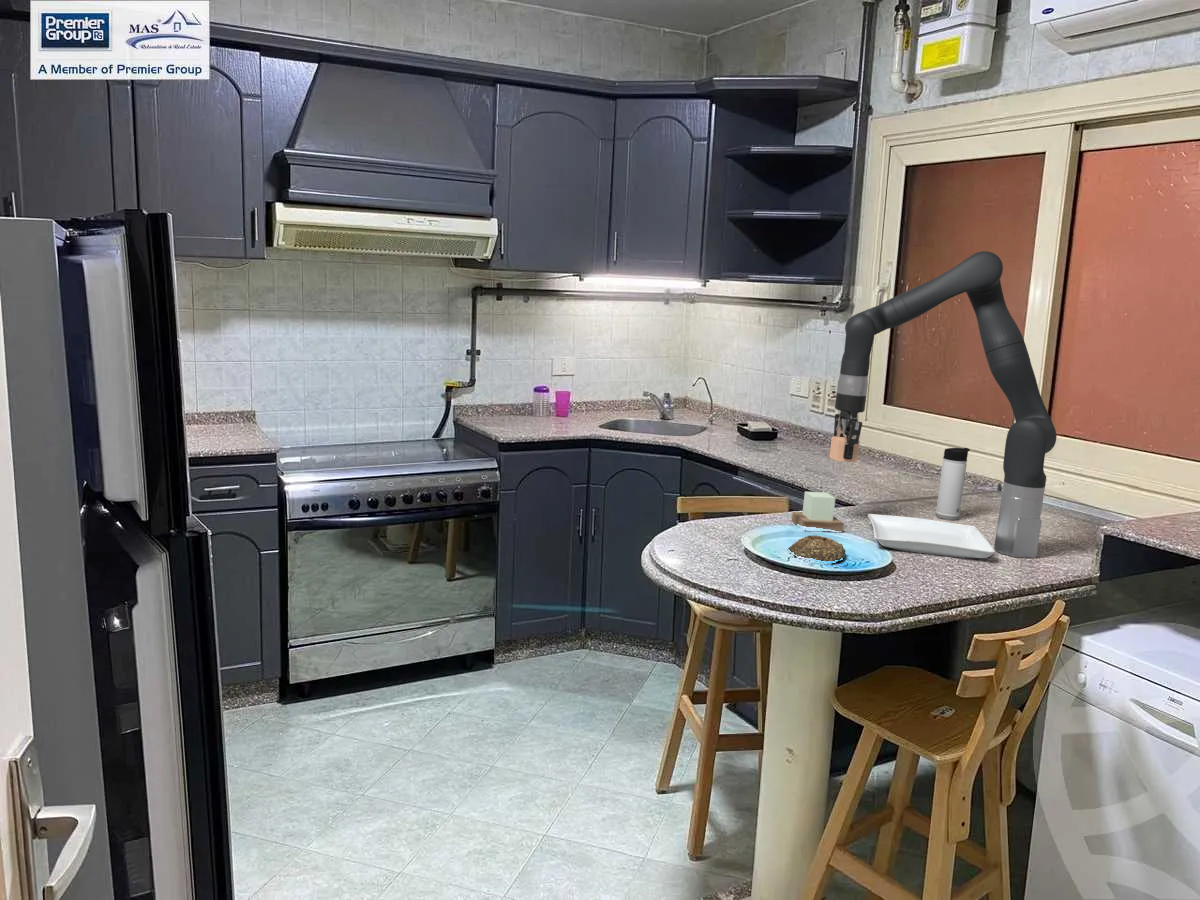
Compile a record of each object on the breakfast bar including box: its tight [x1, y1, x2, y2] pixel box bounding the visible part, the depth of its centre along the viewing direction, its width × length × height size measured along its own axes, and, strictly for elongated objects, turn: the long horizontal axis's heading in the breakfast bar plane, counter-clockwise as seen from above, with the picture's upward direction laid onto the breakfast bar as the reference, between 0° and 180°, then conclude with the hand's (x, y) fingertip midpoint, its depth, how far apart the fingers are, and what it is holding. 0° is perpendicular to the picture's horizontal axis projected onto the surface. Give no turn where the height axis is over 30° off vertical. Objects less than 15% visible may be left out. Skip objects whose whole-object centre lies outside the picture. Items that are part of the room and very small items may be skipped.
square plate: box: [867, 513, 996, 559], centre depth 233 cm, size 27×27×4 cm
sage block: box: [802, 491, 836, 521], centre depth 241 cm, size 6×6×6 cm
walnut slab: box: [791, 511, 844, 532], centre depth 242 cm, size 10×10×2 cm
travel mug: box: [935, 447, 970, 521], centre depth 261 cm, size 6×7×20 cm
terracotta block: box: [829, 435, 860, 463], centre depth 243 cm, size 6×6×6 cm
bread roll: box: [787, 534, 846, 561], centre depth 214 cm, size 13×12×5 cm
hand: (843, 456), depth 244 cm, fingers closed on terracotta block, 5 cm apart
